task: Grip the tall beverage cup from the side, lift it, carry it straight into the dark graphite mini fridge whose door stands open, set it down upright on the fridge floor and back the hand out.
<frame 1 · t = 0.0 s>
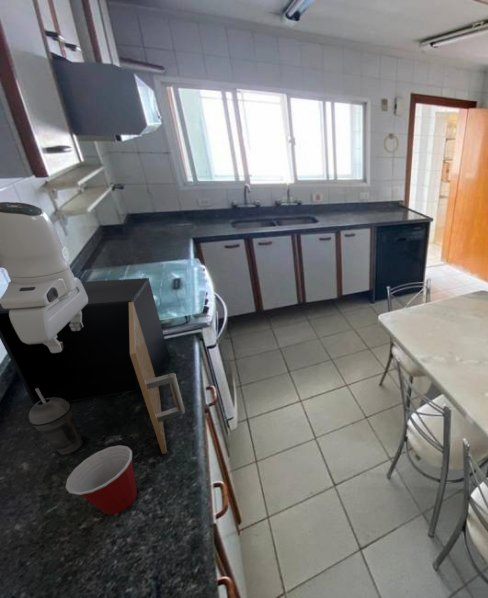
hand: (68, 339, 74), 31 cm above the table, tool pointing down, fingers open, 8 cm apart
beverage cup: (71, 447, 84), on the table
plastic cup: (120, 503, 73), on the table
fridge: (110, 380, 108), on the table
fridge door: (160, 371, 90), point 16 cm above the table, hinge at 105.0°
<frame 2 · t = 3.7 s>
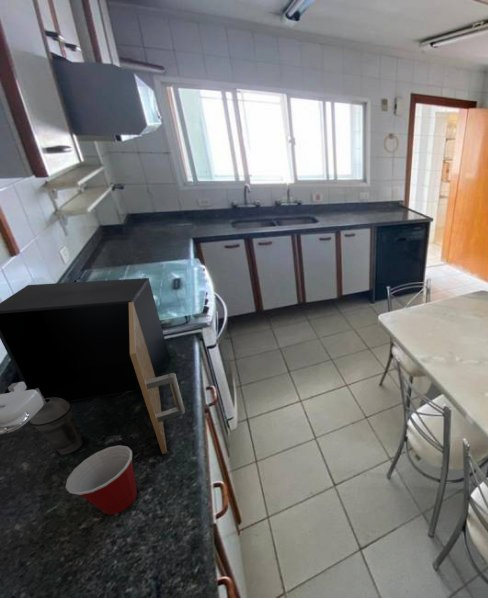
nothing on the table moved.
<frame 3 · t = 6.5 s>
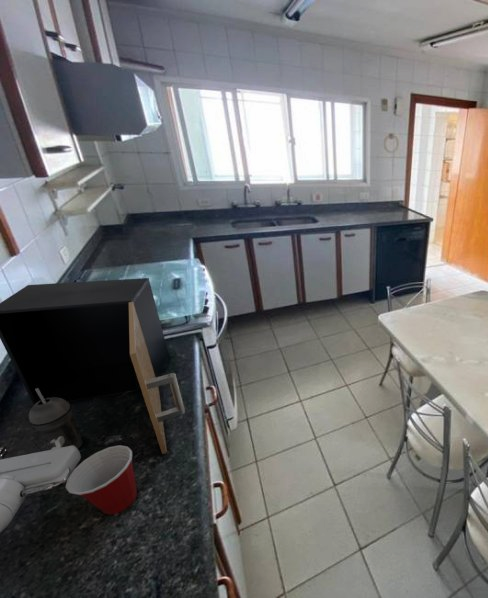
hand: (31, 444, 71), 12 cm above the table, tool horizontal, fingers open, 8 cm apart
nothing on the table moved.
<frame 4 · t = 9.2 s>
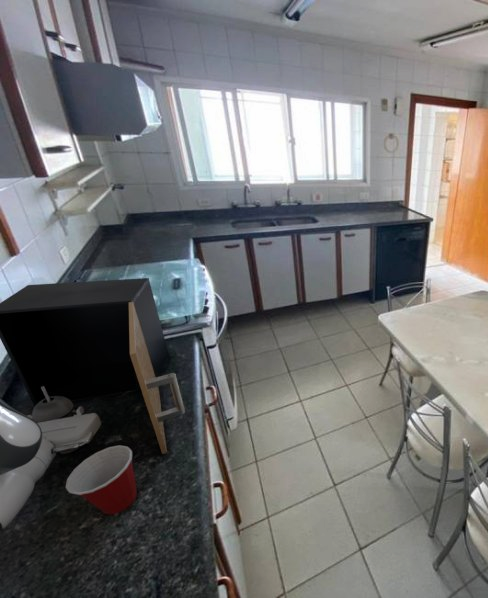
hand: (57, 412, 81), 11 cm above the table, tool horizontal, fingers closed on beverage cup, 7 cm apart
beverage cup: (71, 447, 84), on the table, touching gripper
everything else where it was.
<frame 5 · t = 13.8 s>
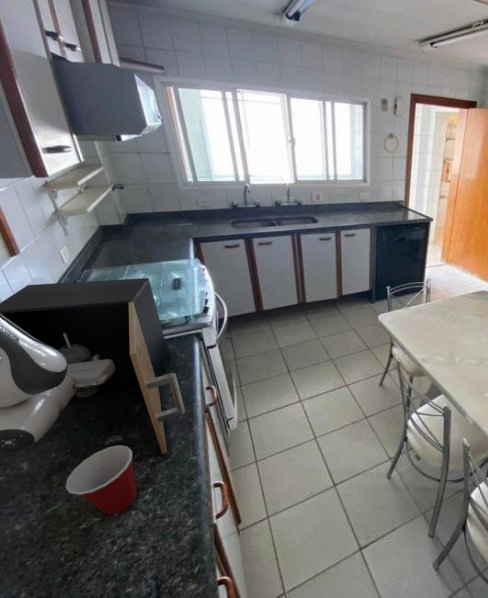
hand: (76, 359, 90), 17 cm above the table, tool horizontal, fingers closed on beverage cup, 7 cm apart
beverage cup: (87, 392, 94), point 6 cm above the table, touching gripper
everything else where it was.
when the fingers open (12 cm above the table, at t = 18.5 s): beverage cup stays where it is, resting on fridge.
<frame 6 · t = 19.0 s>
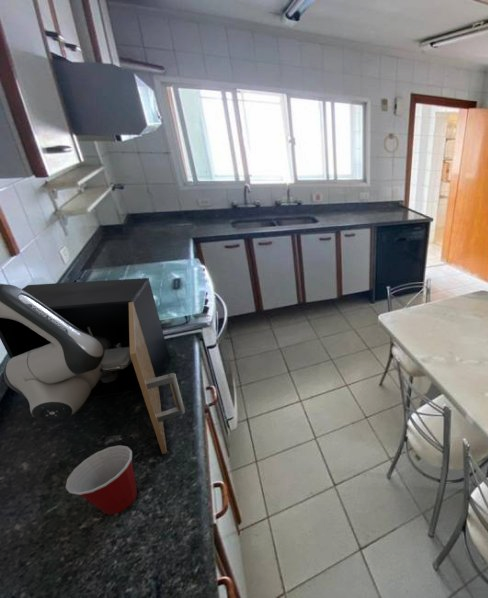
hand: (100, 347, 103), 12 cm above the table, tool horizontal, fingers open, 8 cm apart
beverage cup: (110, 378, 107), point 1 cm above the table, touching fridge
everything else where it was.
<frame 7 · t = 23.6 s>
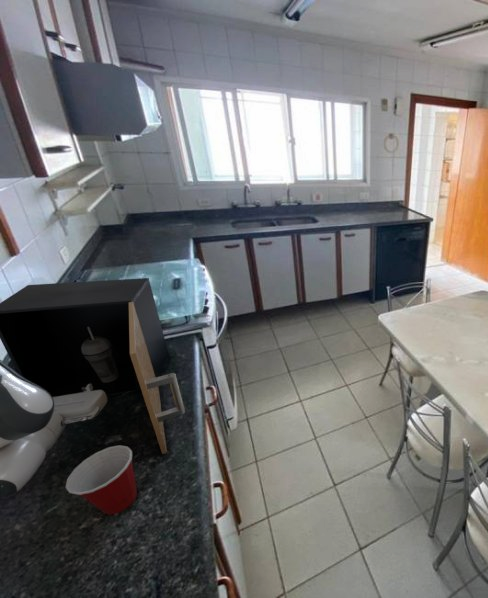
hand: (65, 389, 84), 13 cm above the table, tool horizontal, fingers open, 8 cm apart
nothing on the table moved.
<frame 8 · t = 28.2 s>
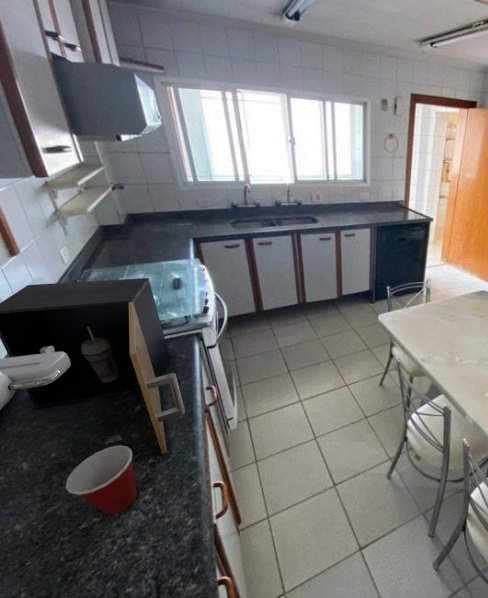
hand: (21, 352, 71), 30 cm above the table, tool horizontal, fingers open, 8 cm apart
nothing on the table moved.
at the end: beverage cup inside the target area in the fridge (0.2 cm from its centre), point 0.7 cm above the fridge's base; beverage cup tilted 3°; the gripper is holding nothing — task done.
